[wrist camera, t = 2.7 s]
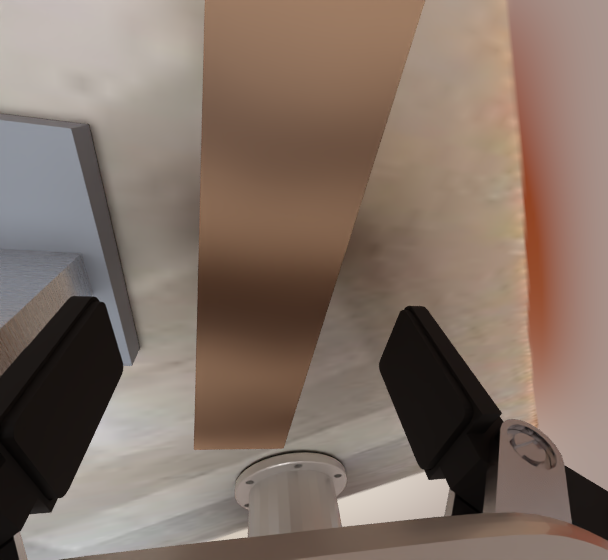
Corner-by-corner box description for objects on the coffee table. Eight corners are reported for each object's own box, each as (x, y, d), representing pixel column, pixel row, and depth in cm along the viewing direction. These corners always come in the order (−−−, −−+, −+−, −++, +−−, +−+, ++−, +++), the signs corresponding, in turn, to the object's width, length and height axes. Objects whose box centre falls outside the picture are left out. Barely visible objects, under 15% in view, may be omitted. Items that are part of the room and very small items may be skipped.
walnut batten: (277, 357, 23) (283, 448, 17) (211, 353, 22) (193, 449, 16) (351, 36, 13) (426, -5, 7) (233, 0, 12) (207, -85, 6)
